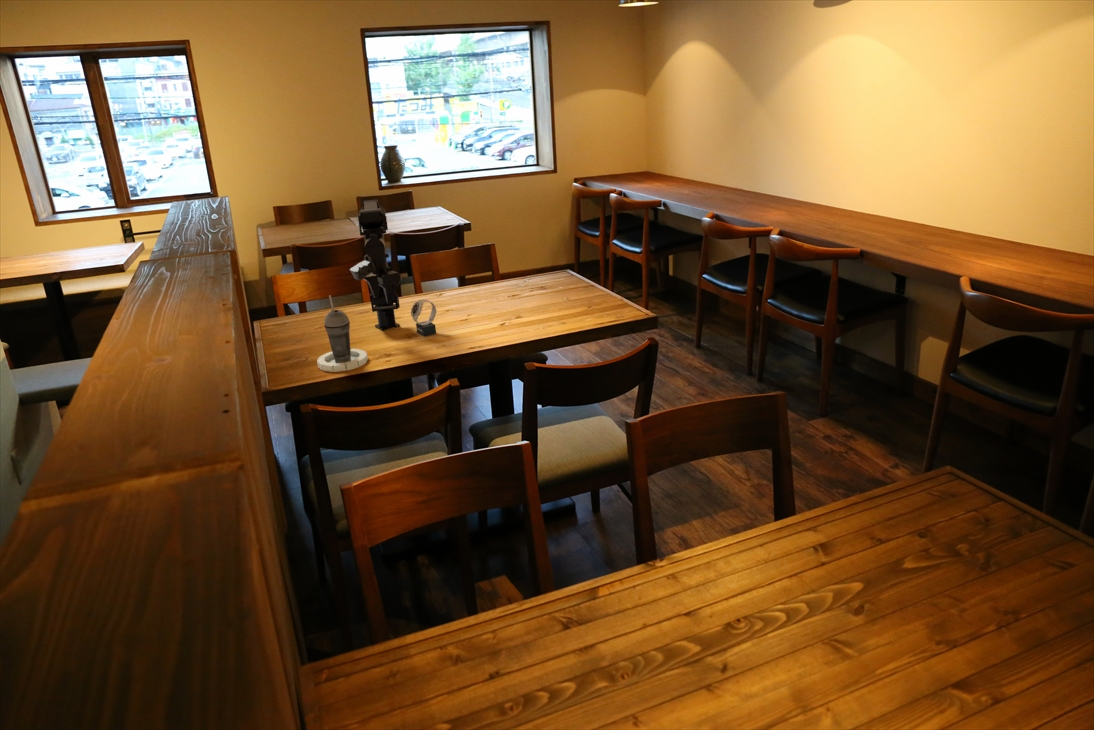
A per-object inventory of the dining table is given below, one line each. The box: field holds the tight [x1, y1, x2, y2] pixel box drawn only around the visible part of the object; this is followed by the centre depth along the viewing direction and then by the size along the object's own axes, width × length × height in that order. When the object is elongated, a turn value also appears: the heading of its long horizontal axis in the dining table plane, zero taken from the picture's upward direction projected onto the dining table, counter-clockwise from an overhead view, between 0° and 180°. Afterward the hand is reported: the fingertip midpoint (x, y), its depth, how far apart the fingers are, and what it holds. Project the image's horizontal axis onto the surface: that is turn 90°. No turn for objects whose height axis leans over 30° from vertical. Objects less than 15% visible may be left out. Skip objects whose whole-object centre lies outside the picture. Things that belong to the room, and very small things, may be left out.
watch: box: [410, 299, 437, 338], centre depth 237 cm, size 6×8×11 cm
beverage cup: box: [323, 294, 352, 363], centre depth 214 cm, size 7×7×20 cm
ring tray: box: [316, 348, 369, 373], centre depth 217 cm, size 14×14×2 cm
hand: (382, 300), depth 230 cm, fingers open, 9 cm apart
